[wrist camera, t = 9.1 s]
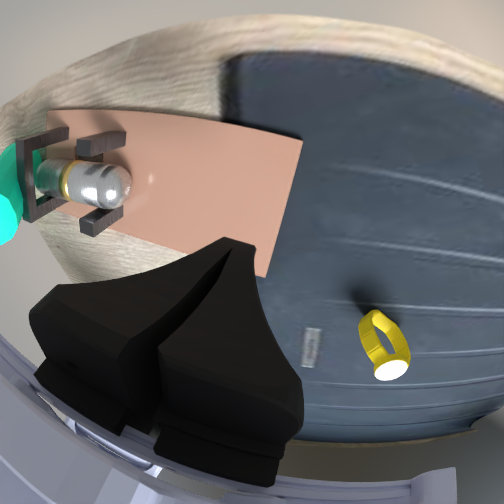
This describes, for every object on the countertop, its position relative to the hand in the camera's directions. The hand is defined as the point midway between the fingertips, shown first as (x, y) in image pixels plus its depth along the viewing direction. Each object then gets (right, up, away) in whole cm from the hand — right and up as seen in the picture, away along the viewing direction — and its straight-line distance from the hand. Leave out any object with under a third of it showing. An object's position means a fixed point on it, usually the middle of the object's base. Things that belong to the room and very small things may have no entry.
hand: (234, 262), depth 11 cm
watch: (+13, -6, +12) cm, 18 cm away
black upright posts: (-14, +8, +10) cm, 19 cm away
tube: (-14, +8, +10) cm, 19 cm away
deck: (-9, +7, +10) cm, 15 cm away
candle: (-25, +10, +10) cm, 29 cm away
